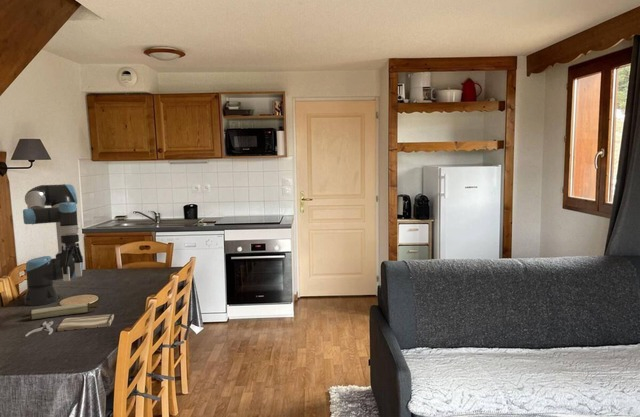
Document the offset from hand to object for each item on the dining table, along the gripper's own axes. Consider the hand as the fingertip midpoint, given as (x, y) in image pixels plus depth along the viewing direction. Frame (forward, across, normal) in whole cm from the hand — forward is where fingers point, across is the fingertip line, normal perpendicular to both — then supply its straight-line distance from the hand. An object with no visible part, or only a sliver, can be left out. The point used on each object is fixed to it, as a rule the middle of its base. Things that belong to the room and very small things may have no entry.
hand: (72, 278), depth 223 cm
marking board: (+19, -13, -10) cm, 25 cm away
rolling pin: (+18, 0, +7) cm, 19 cm away
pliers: (+20, -18, +6) cm, 27 cm away
